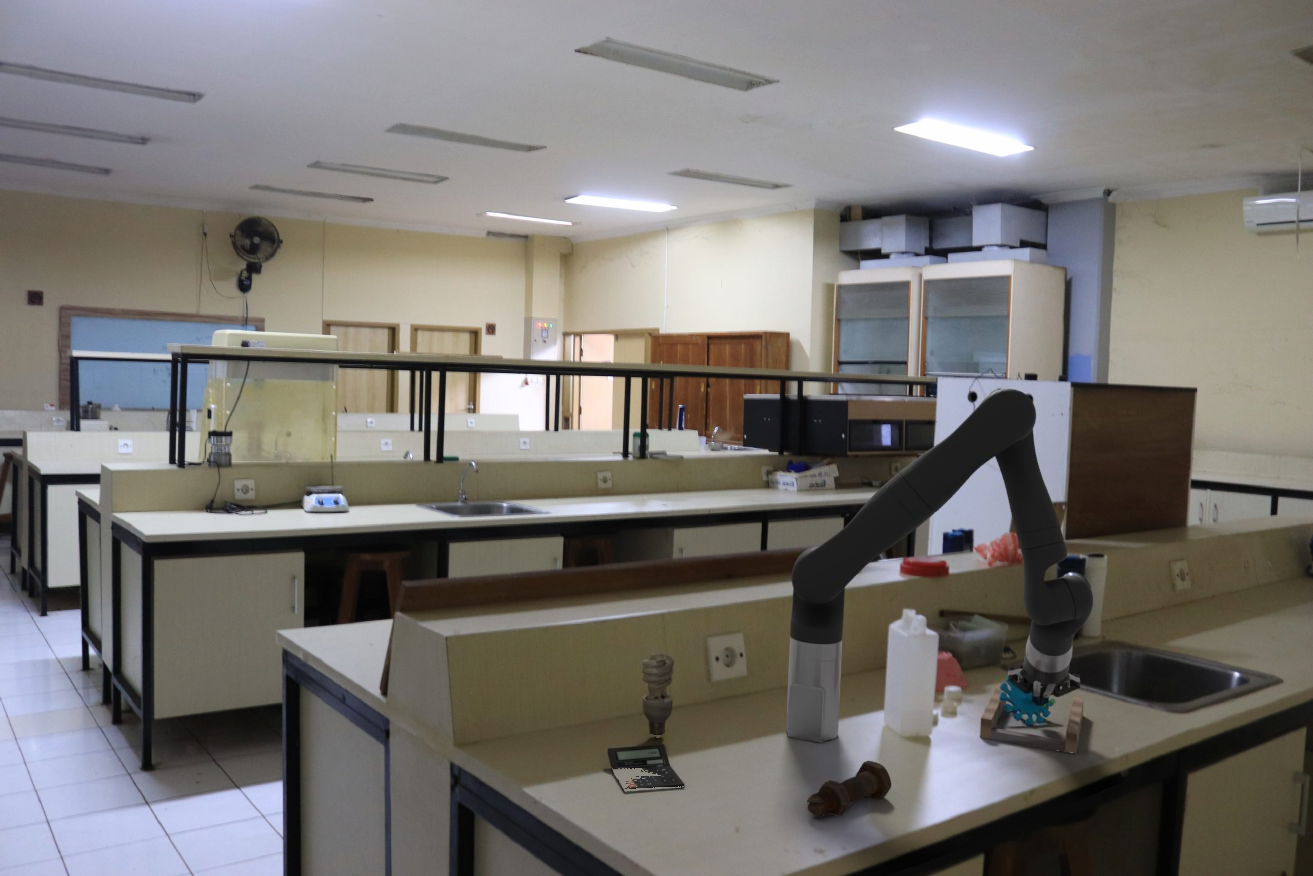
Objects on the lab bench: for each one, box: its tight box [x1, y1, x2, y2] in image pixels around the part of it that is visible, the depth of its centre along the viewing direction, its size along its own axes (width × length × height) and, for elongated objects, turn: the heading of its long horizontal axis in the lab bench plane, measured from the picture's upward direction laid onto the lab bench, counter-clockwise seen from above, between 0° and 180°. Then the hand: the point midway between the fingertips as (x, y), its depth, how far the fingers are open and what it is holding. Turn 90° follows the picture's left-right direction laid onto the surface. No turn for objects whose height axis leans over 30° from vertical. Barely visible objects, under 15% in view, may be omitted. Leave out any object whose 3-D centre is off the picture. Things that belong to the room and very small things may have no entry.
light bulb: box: [641, 651, 675, 736], centre depth 170 cm, size 6×6×15 cm
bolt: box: [807, 760, 892, 818], centre depth 144 cm, size 6×5×15 cm
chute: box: [979, 684, 1085, 754], centre depth 184 cm, size 24×16×4 cm, turn 154°
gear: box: [999, 677, 1057, 726], centre depth 188 cm, size 11×6×10 cm
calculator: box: [607, 743, 686, 789], centre depth 153 cm, size 9×12×3 cm
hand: (1039, 701), depth 186 cm, fingers closed
